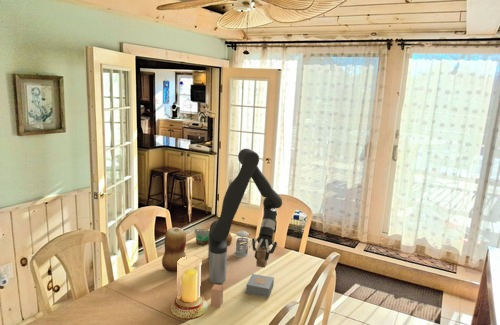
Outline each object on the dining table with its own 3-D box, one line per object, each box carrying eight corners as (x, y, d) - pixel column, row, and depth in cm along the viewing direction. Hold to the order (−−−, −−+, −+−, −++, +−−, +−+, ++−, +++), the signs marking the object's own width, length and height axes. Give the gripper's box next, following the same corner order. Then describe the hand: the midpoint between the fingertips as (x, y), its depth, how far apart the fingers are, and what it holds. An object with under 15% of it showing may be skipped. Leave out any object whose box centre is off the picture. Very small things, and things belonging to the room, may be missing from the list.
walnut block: (256, 266, 184) (256, 250, 182) (258, 262, 188) (259, 246, 186) (264, 267, 183) (265, 251, 181) (266, 263, 187) (267, 247, 185)
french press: (240, 249, 236) (241, 213, 231) (254, 254, 229) (256, 217, 225) (231, 254, 228) (232, 217, 223) (245, 259, 222) (247, 221, 217)
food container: (191, 245, 239) (191, 230, 237) (194, 241, 245) (194, 227, 243) (209, 247, 237) (209, 232, 235) (211, 243, 243) (212, 229, 241)
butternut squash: (178, 278, 196) (178, 235, 191) (157, 273, 200) (157, 231, 195) (190, 267, 208) (191, 227, 204) (171, 262, 213) (171, 223, 208)
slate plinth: (246, 293, 184) (246, 284, 183) (252, 282, 195) (252, 273, 194) (268, 297, 181) (269, 288, 180) (273, 286, 192) (273, 277, 191)
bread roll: (223, 247, 238) (223, 236, 237) (212, 239, 250) (212, 228, 249) (235, 244, 244) (235, 233, 242) (223, 236, 256) (224, 226, 254)
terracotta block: (210, 305, 172) (211, 288, 170) (214, 300, 176) (214, 284, 174) (219, 307, 171) (220, 290, 169) (222, 302, 175) (223, 285, 173)
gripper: (253, 224, 191) (246, 254, 182) (279, 227, 187) (273, 259, 178) (255, 230, 197) (248, 259, 188) (280, 233, 193) (275, 264, 184)
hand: (261, 259), depth 183 cm, fingers closed on walnut block, 4 cm apart
